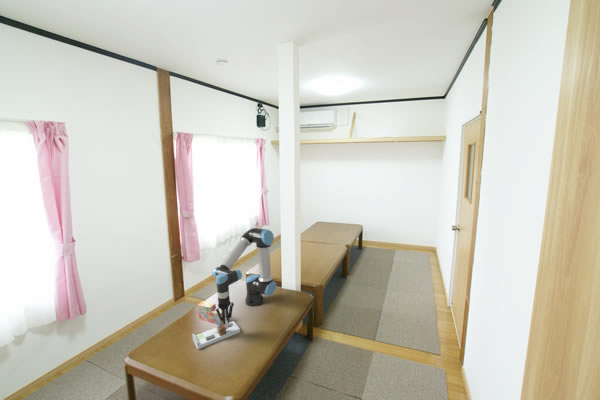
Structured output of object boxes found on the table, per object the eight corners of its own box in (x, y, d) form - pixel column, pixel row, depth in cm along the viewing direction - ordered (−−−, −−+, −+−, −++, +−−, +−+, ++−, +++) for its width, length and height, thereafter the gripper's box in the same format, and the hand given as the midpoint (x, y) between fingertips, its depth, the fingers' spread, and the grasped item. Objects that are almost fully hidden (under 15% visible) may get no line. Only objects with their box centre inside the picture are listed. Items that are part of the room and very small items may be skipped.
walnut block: (224, 330, 192) (223, 324, 192) (226, 333, 189) (225, 327, 188) (217, 332, 190) (217, 326, 189) (219, 336, 186) (219, 330, 186)
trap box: (233, 324, 204) (233, 318, 203) (240, 332, 194) (239, 326, 193) (192, 339, 187) (192, 333, 187) (197, 349, 177) (197, 343, 177)
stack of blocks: (226, 321, 208) (225, 305, 206) (220, 325, 202) (219, 310, 201) (204, 315, 217) (203, 300, 215) (198, 319, 212) (197, 304, 210)
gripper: (230, 291, 194) (233, 321, 198) (212, 297, 186) (215, 329, 190) (234, 295, 188) (237, 327, 192) (215, 301, 180) (219, 334, 184)
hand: (226, 328), depth 191 cm, fingers closed
